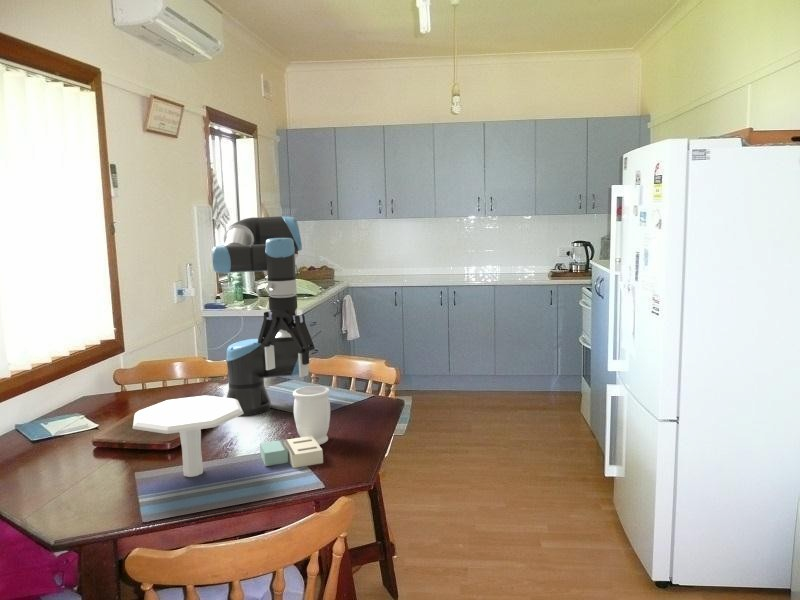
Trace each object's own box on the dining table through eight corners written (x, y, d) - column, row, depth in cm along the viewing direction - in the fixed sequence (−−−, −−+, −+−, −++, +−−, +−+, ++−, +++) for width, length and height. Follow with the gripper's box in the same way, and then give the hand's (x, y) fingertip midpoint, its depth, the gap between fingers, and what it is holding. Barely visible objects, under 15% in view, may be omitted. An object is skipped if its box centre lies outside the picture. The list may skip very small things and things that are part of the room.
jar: (325, 448, 177) (322, 396, 175) (289, 447, 179) (286, 395, 177) (336, 435, 187) (334, 385, 185) (303, 434, 189) (300, 385, 187)
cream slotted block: (284, 452, 175) (283, 439, 174) (312, 447, 178) (312, 435, 177) (292, 468, 164) (292, 454, 163) (323, 462, 166) (322, 449, 166)
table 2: (161, 453, 177) (156, 395, 175) (261, 451, 176) (257, 392, 174) (113, 498, 149) (106, 429, 147) (231, 496, 148) (226, 427, 146)
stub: (260, 455, 173) (259, 442, 172) (282, 452, 175) (282, 439, 174) (265, 466, 165) (264, 452, 165) (288, 462, 167) (287, 449, 167)
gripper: (242, 294, 176) (247, 369, 179) (304, 300, 161) (308, 382, 164) (263, 291, 182) (267, 363, 185) (325, 296, 166) (329, 375, 169)
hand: (286, 372), depth 174 cm, fingers open, 13 cm apart
